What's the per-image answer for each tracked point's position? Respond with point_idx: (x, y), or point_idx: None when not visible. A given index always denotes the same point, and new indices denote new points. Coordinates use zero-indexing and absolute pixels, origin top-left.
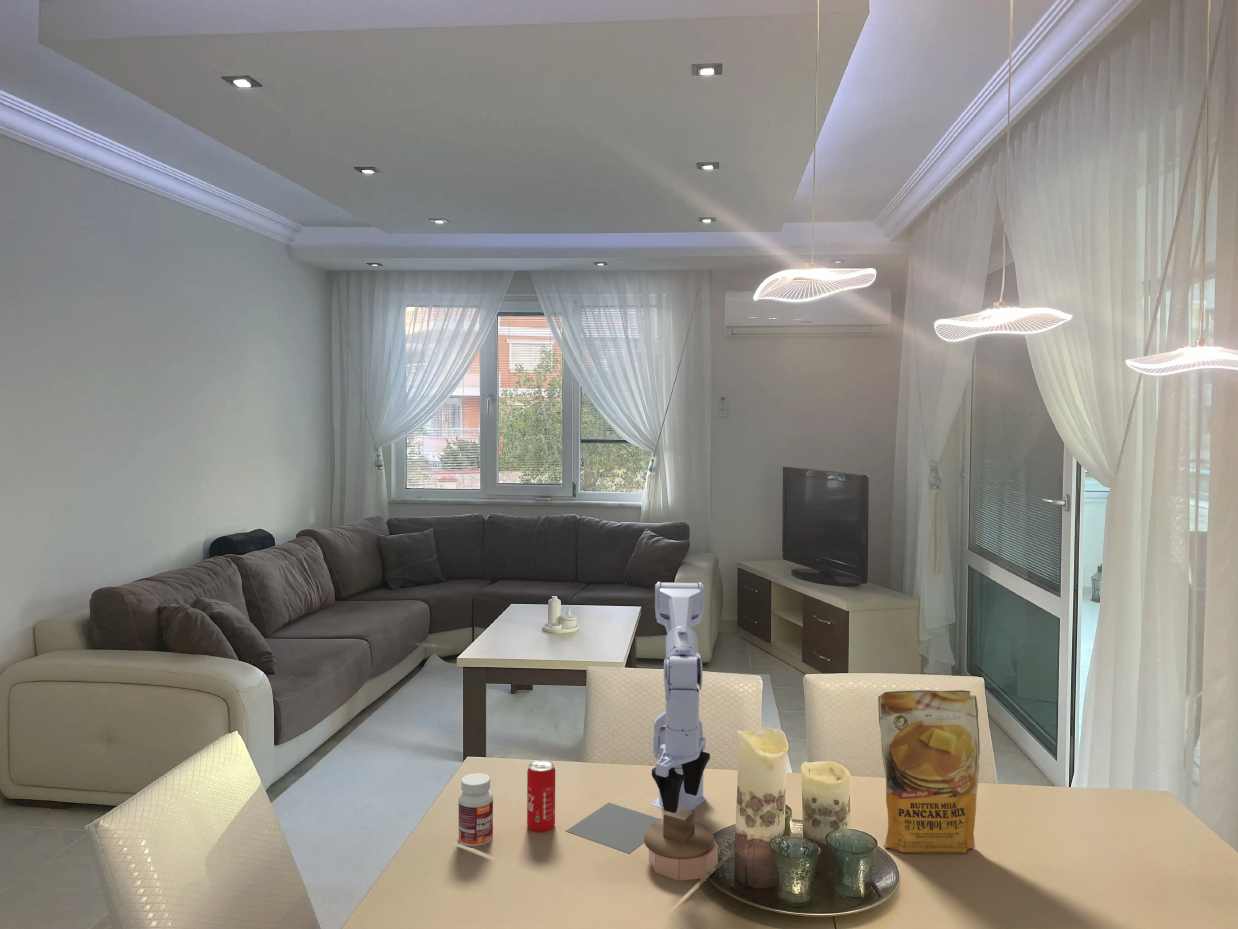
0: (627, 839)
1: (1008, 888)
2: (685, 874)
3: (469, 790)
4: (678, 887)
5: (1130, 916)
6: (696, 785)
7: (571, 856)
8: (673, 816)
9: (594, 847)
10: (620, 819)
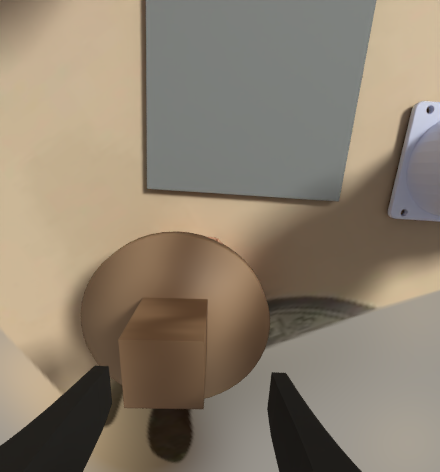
0: (203, 149)
1: None
2: None
3: None
4: None
5: None
6: (279, 456)
7: (63, 51)
8: (123, 373)
9: (137, 83)
10: (293, 70)
